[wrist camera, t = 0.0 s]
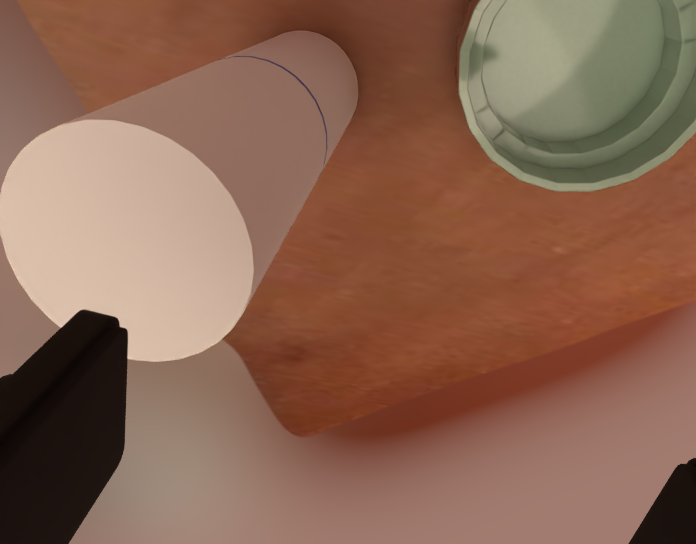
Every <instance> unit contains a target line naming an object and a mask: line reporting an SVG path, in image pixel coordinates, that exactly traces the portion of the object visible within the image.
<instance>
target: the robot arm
mask: <svg viewBox="0 0 696 544" xmlns="http://www.w3.org/2000/svg"><path fill="white" fill-rule="evenodd" d="M127 356H128V331H127V329H126V328H122V327H120V324H119V320H118V318H116V317H114V316H110V315H106V314H102V313H98V312H93V311H89V310H85V309H84V310H80V311H79V312H77V313H76V314H75V315H74V316H73V317H72V318H71V319H70V320H69V321H68V322H67V323H66V324H65V325H64V326H63V327H62V328H61V329H59V330H58V332H56V334H54V335H53V336H52V337H51V338H50V339H49V340H48V341H47V342H46V343H45V344H44V345H43V346H42V347H41V348H40V349H39V350H38V351H37V352H35V353H34V354H33V355H32V356H31V357H30V358H29V359H28V360H27V361H26V362H25V363H24V364H23V365H22V366H21V367H20V368H19V369H18V370H17V371H16V372H15V373H14V374H9V375H6V376H3V377H1V378H0V544H69V542H70V540H71V539H72V537H73V536H74V534H75V533H76V531H77V529H78V528H79V526H80V525H81V523H82V522H83V520H84V518H85V517H86V515H87V514H88V512H89V511H90V509H91V508H92V506H93V504H94V503H95V501H96V500H97V498H98V497H99V495H100V493H101V492H102V490H103V489H104V487H105V485H106V484H107V482H108V481H109V479H110V478H111V476H112V475H113V473H114V471H115V470H116V468H117V467H118V465H119V463H120V460H121V458H122V455H123V451H124V443H125V415H126V414H125V413H126V385H127ZM629 544H696V458H693V459H691V460H689V461H688V463H687V464H680V465H678V466H677V467H676V468H675V470H674V471H673V473H672V475H671V476H670V478H669V479H668V481H667V483H666V484H665V486H664V487H663V489H662V491H661V492H660V494H659V495H658V497H657V499H656V500H655V502H654V504H653V505H652V507H651V508H650V510H649V512H648V513H647V515H646V516H645V518H644V520H643V521H642V523H641V524H640V526H639V528H638V529H637V531H636V533H635V534H634V536H633V538H632V539H631V541H630V542H629Z"/></svg>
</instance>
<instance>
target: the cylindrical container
mask: <svg viewBox="0 0 696 544" xmlns="http://www.w3.org/2000/svg"><path fill="white" fill-rule="evenodd" d="M357 101H358V81H357V76H356V72H355V70H354V67H353V65H352V62H351V61H350V59H349V58H348V56H347V55H346V53H345V52H344V51H343V50H342V49H341V48H340V47H339V46H338V45H337V44H336V43H335V42H333V41H332V40H330V39H329V38H327V37H325V36H323V35H321V34H319V33H315V32H310V31H291V32H286V33H283V34H280V35H278V36H276V37H273V38H271V39H268V40H266V41H264V42H261V43H259V44H256V45H254V46H252V47H249V48H247V49H244V50H242V51H239V52H237V53H234V54H232V55H229V56H227V57H224V58H222V59H219V60H217V61H215V62H212V63H210V64H207V65H205V66H203V67H200V68H198V69H195V70H193V71H191V72H188V73H186V74H184V75H181V76H179V77H176V78H174V79H172V80H169V81H167V82H164V83H162V84H160V85H157V86H155V87H152V88H150V89H148V90H145V91H143V92H140V93H138V94H135V95H133V96H130V97H128V98H125V99H123V100H121V101H118V102H116V103H113V104H111V105H108V106H106V107H103V108H101V109H98V110H96V111H93V112H91V113H89V114H86V115H84V116H82V117H79V118H76V119H74V120H71V121H69V122H66V123H64V124H62V125H59V126H58V127H55V128H53V129H51V130H49V131H47V132H45V133H43V134H41V135H39V136H37V137H36V138H35V139H34V140H33V141H32V142H30V143H29V144H28V145H27V146H26V147H25V148H24V149H22V150H21V152H20V153H19V154H18V156H17V157H16V159H15V160H14V162H13V163H12V165H11V166H10V167H9V170H8V172H7V175H6V177H5V180H4V182H3V185H2V188H1V195H0V235H1V238H2V242H3V245H4V248H5V252H6V256H7V259H8V261H9V263H10V265H11V267H12V269H13V271H14V273H15V275H16V277H17V279H18V281H19V282H20V284H21V285H22V287H23V288H24V289H25V291H26V292H27V294H28V295H29V296H30V298H31V299H32V301H33V302H34V303H35V304H36V305H37V306H38V307H39V308H40V309H41V310H42V311H43V312H44V313H45V314H46V315H47V316H48V317H49V318H50V320H52V321H53V322H54V323H56V324H57V325H58V326H59V327H61V328H62V327H63V326H64V325H65V324H66V323H67V322H68V321H69V320H70V319H71V318H72V317H73V316H74V315H75V314H76V313H77V312H79V311H80V310H84V309H85V310H89V311H93V312H98V313H102V314H106V315H110V316H114V317H116V318H118V320H119V324H120V327H122V328H126V329H127V331H128V356H127V359H132V360H140V361H155V362H159V361H168V360H177V359H182V358H185V357H188V356H191V355H194V354H197V353H200V352H202V351H204V350H206V349H207V348H209V347H211V346H212V345H214V344H216V343H217V342H219V341H220V340H221V339H222V338H223V337H224V336H225V335H226V334H227V333H229V332H230V331H231V330H232V329H233V327H234V326H235V324H236V323H237V321H238V320H239V318H240V317H241V315H242V314H243V312H244V311H245V309H246V307H247V305H248V303H249V302H250V300H251V298H252V296H253V294H254V293H255V291H256V289H257V287H258V286H259V284H260V282H261V280H262V278H263V277H264V275H265V273H266V271H267V269H268V268H269V266H270V264H271V262H272V260H273V259H274V257H275V255H276V253H277V252H278V250H279V248H280V246H281V244H282V243H283V241H284V239H285V237H286V235H287V234H288V232H289V230H290V228H291V226H292V225H293V223H294V221H295V219H296V218H297V216H298V214H299V212H300V210H301V209H302V207H303V205H304V203H305V201H306V200H307V198H308V196H309V194H310V192H311V191H312V189H313V187H314V185H315V184H316V182H317V180H318V178H319V176H320V175H321V173H322V171H323V169H324V167H325V166H326V164H327V162H328V160H329V158H330V157H331V155H332V153H333V151H334V150H335V148H336V146H337V144H338V142H339V141H340V139H341V137H342V135H343V133H344V132H345V130H346V128H347V126H348V124H349V123H350V121H351V119H352V117H353V115H354V112H355V110H356V106H357Z"/></svg>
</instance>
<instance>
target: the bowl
mask: <svg viewBox="0 0 696 544" xmlns="http://www.w3.org/2000/svg"><path fill="white" fill-rule="evenodd" d="M455 76H456V82H457V87H458V93H459V96H460V100H461V103H462V107H463V110H464V114H465V117H466V121H467V124H468V127H469V130H470V131H471V133H472V134H473V136H474V137H475V138H476V140H477V141H478V143H479V144H480V145H481V147H482V148H483V150H484V151H485V153H486V154H487V155H488V157H489V158H490V159H491V160H492V161H493V162H495V163H496V164H498V165H499V166H500V167H502V168H503V169H505V170H506V171H507V172H509V173H510V174H511V175H513V176H514V177H516V178H517V179H518V180H520V181H523V182H527V183H530V184H533V185H536V186H540V187H543V188H546V189H549V190H552V191H597V190H600V189H604V188H607V187H611V186H614V185H618V184H621V183H625V182H628V181H632V180H633V179H636V178H638V177H639V176H641V175H643V174H645V173H646V172H648V171H650V170H651V169H653V168H655V167H656V166H658V165H660V164H661V163H663V162H665V161H666V160H668V159H670V157H672V156H673V155H674V154H675V153H676V152H677V151H678V150H679V149H680V148H681V147H682V146H683V145H684V144H685V143H686V142H687V141H688V140H689V139H690V138H691V137H692V136H693V135H694V133H695V132H696V0H471V1H470V3H469V4H468V7H467V10H466V13H465V16H464V19H463V22H462V25H461V28H460V31H459V34H458V37H457V41H456V68H455Z"/></svg>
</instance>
